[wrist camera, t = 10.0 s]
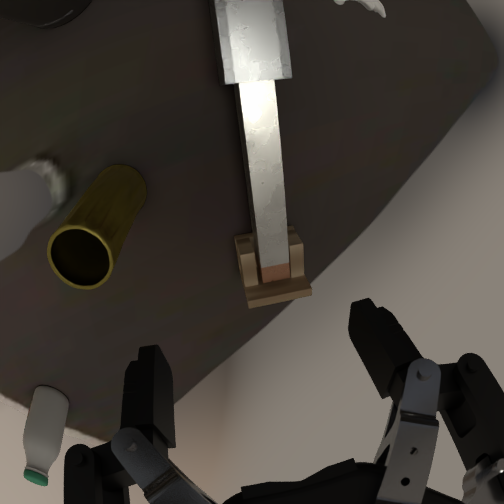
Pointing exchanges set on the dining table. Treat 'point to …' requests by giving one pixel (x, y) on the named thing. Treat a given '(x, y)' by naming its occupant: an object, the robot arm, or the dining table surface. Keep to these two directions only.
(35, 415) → the milk bottle
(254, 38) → the sleeve
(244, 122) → the white orange-tipped bar
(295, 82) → the dining table surface
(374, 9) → the acanthus leaf ornament
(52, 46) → the dining table surface
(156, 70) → the dining table surface
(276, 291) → the socket
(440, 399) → the robot arm
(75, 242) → the vase
